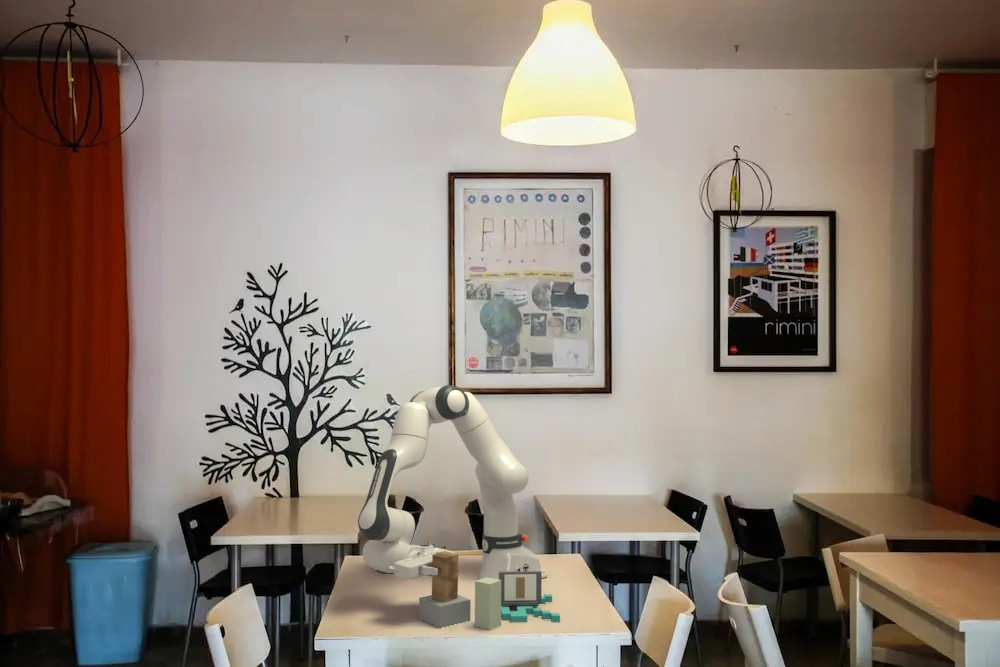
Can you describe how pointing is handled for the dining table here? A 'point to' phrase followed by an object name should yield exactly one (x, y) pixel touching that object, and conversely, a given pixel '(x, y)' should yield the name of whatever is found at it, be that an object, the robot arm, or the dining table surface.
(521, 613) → the alien figure
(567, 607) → the dining table surface
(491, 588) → the sage block
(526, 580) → the grey picture frame
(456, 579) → the walnut block
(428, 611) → the slate base block
